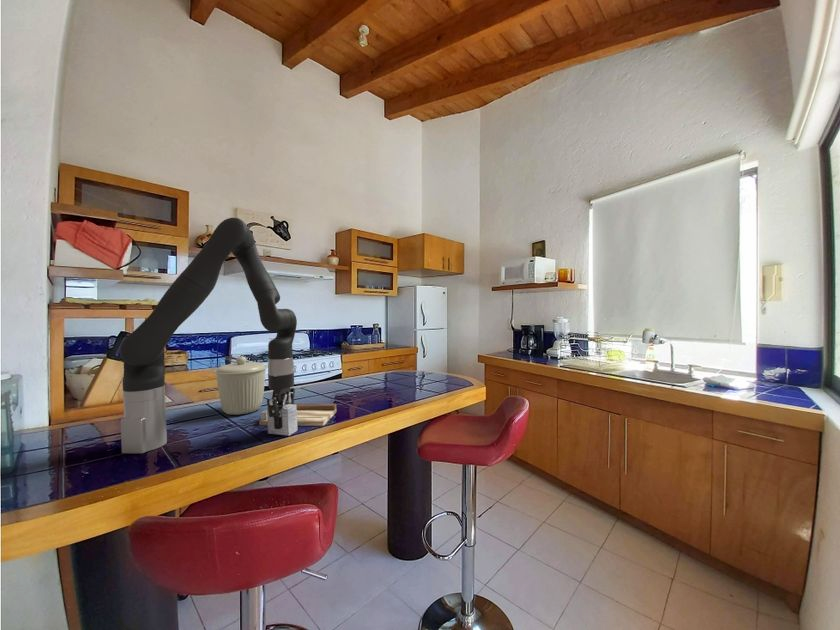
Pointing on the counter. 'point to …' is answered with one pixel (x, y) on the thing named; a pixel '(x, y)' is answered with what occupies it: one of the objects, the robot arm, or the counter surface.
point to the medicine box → (284, 421)
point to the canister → (241, 386)
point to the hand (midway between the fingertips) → (282, 425)
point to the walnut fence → (316, 406)
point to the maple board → (309, 417)
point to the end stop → (264, 415)
